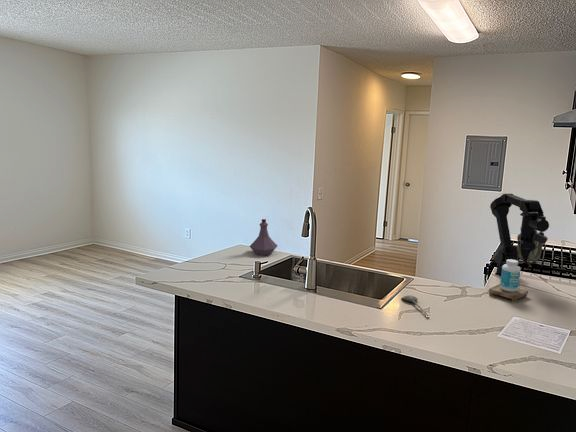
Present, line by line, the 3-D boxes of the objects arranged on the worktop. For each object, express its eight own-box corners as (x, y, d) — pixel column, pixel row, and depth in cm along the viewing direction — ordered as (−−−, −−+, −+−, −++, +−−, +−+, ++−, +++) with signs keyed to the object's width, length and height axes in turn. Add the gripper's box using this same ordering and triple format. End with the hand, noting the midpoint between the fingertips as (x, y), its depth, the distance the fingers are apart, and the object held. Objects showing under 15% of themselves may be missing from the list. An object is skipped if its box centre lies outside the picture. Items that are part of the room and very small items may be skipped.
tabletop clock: (532, 269, 241) (538, 223, 236) (514, 265, 247) (519, 221, 242) (539, 263, 252) (545, 219, 247) (522, 260, 258) (528, 217, 253)
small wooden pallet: (488, 295, 204) (489, 288, 203) (500, 289, 211) (501, 283, 211) (515, 303, 195) (516, 296, 194) (527, 297, 202) (528, 290, 202)
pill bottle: (510, 293, 198) (514, 264, 195) (495, 288, 204) (499, 259, 201) (521, 291, 201) (525, 261, 198) (507, 285, 207) (510, 257, 205)
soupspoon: (413, 299, 200) (399, 300, 199) (413, 292, 200) (399, 293, 199) (435, 318, 179) (419, 320, 178) (435, 310, 178) (419, 312, 177)
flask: (276, 249, 271) (276, 216, 267) (279, 257, 255) (279, 222, 251) (248, 249, 269) (248, 216, 265) (249, 257, 253) (249, 222, 249)
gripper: (550, 232, 201) (545, 266, 204) (544, 224, 218) (540, 255, 221) (522, 230, 205) (518, 263, 208) (519, 222, 222) (515, 253, 225)
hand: (524, 258), depth 215 cm, fingers open, 9 cm apart
